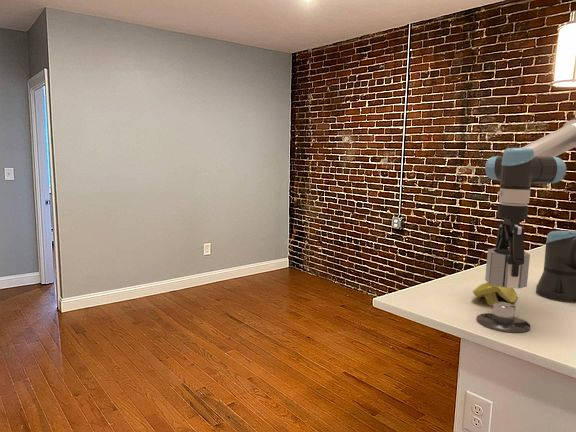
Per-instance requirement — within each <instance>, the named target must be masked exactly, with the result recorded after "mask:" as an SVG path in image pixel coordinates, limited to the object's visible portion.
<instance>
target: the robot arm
mask: <svg viewBox="0 0 576 432" xmlns="http://www.w3.org/2000/svg"><path fill="white" fill-rule="evenodd" d="M574 148H576V117H574V118H571V119H570V120H568V121H567V122H565V123H564V124H563V126H562V127H560V128H558V129H556V130H554V131H552V132H550V133H548V134H545V135H544V136H542V137H541V138H539V139H536V140H534V141H532V142H530V143H528V144H526V145H524V146H522V147H510V148H509V147H508V148H506V149H504V151H503V153H502V156H501V155H496V156H495V155H494V156H492V157H490V158H488V160H487V161H486V163H485V166H484V172H485V175H486V176H487V178H488V179H491V180H493V181H499V182H500V185H499V191H497V196H498V202H499V203H500V204H498V205H497V213H496V214H497V216H496V217H498V218H500V219H501V220H498V229H497V233H496V234H497V236H496V241H495V245H494V248H499V249H509V254H510V261H509V262H508V263H507V264H509V265H508V275H507V286H506V287H507V288H513V289H517V288H518V282H519V272H520V265H521V264H524V252H525V229H526V227H524V226H521V221H522V220H528V217H529V216H528V215H529V206H528V204H530V199H531V198H530V197H531V185H532V184H547V185H549V184H555V183H559V182H561V181H562V180H563V179H564V177H565V176H566V174H567V164H566V163H565V161H564V160H563V159H562V158H560V157H558V156H560V155H562V154H564V153H566V152H568V151H570V150H572V149H574ZM502 219H503V220H502ZM543 264H544V265H543V272H542V274H541V276H540V279H539V280H538V283H537V284H536V286H535V293H536V295H538V296H540V297H542V298H546V299H549V300H553V301H559V302H563V303H565V302H566V303H576V230H552V231H549V233H547V236H546V242H545V253H544V263H543Z"/></svg>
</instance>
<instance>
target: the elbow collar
mask: <svg viewBox="0 0 576 432" xmlns="http://www.w3.org/2000/svg"><path fill="white" fill-rule="evenodd" d="M486 253H487V255H486V266H485V275H484V276H485V278H484V281H486V283H487V282H488V283H489V284H492V285H496V286H499V287H504V288H507V287H506V286H507V275H508V265H509V264H507V263H508V262H509V261H510V254H509V248H508V249H499V248H495V247H493V248H488V249H487V252H486ZM530 257H531V254H530V253H528V252H527V251H524V264H521V265H520V272H519V282H518V288H516V289H518V290H519V289H523V288H526V287H527V286H528V278H529V268H530Z"/></svg>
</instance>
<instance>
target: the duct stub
mask: <svg viewBox="0 0 576 432" xmlns="http://www.w3.org/2000/svg"><path fill="white" fill-rule="evenodd" d="M492 305H493V308H492V312H488V313H487V312H486V313H485V312H484V313H480V314H478V315H477V316H476V317H475V318H476V321H477V323H478V324H479V325H481V326H483V327H484V328H487V329H490V330H493V331H498V332H501V333H507V334H509V333H511V334H522V333H528V332H530V331H531V328H532V327H531V324H530V323H529V322H528V321H526V320H524V319H522V318H520V317H516V316H515V315H516V305H515V304H513V303H510V302H507V301H506V302H505V301H499V302H494V304H492Z"/></svg>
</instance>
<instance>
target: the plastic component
mask: <svg viewBox="0 0 576 432" xmlns="http://www.w3.org/2000/svg"><path fill="white" fill-rule="evenodd" d="M472 293H473V294H474V295H475V297H477V298H484V300H485V301H486V303H487V304H486V305H488V306H492V305H494V302H500V301H499V299H498V296H497V294H498V295H499V297H501V298H503V300H505V301H506V302H507V303H510V304H513V303H515V302H516V301H517V300H518V298H519V297H518V294H517V292H516V290H515V288H504V287H499V286H496V285H492V284H489V283H488V282H487V281H486V282H485V283H482V284H480V285H478V286H477V287H475V288H474V289H473V290H472Z"/></svg>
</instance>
